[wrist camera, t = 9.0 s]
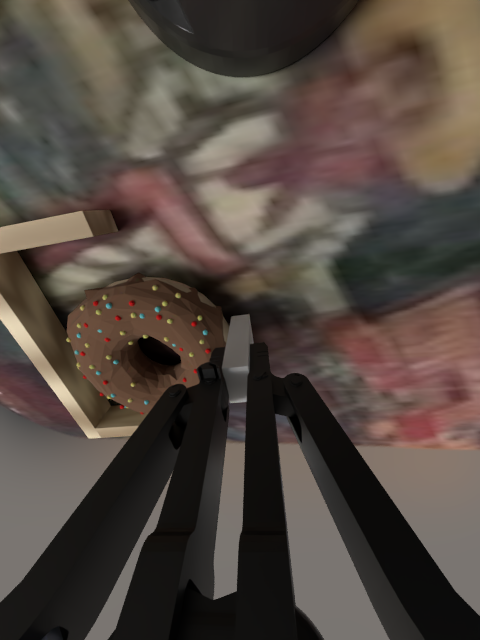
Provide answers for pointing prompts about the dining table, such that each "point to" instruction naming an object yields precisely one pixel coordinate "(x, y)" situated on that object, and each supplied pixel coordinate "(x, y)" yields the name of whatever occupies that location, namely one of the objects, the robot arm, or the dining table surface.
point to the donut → (142, 321)
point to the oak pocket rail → (56, 321)
